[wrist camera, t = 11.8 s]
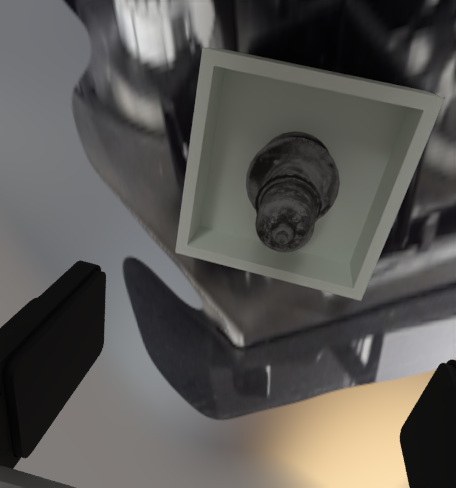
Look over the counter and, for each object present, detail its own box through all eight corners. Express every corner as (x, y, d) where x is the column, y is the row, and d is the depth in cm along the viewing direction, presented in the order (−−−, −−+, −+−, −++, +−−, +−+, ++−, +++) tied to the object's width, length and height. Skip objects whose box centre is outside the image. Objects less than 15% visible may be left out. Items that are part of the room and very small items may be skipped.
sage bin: (219, 48, 26) (202, 47, 23) (425, 90, 25) (444, 98, 21) (191, 228, 33) (175, 252, 29) (355, 270, 31) (360, 300, 28)
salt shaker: (335, 207, 29) (347, 300, 18) (255, 208, 30) (222, 295, 19) (338, 124, 26) (354, 175, 16) (250, 129, 28) (210, 179, 17)
